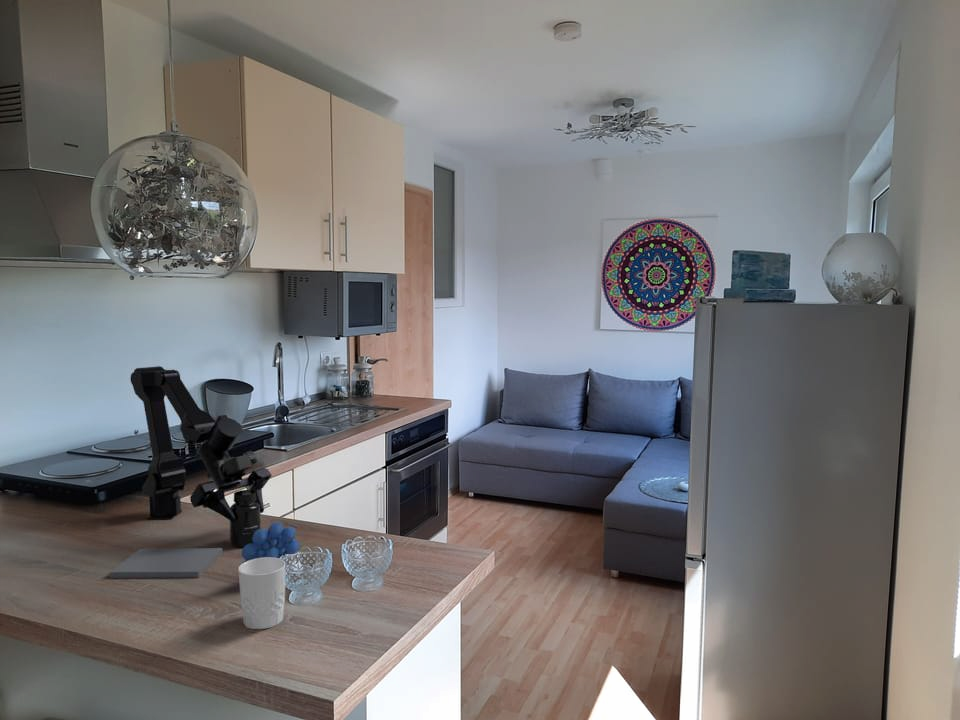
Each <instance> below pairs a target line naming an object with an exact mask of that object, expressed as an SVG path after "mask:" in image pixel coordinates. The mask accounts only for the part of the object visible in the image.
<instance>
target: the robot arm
mask: <svg viewBox="0 0 960 720" xmlns="http://www.w3.org/2000/svg"><path fill="white" fill-rule="evenodd" d="M130 383H131V385H132V388H133V391H134V392H133V393H134V394H135V395H136V396H137V397H138V398H139V399H140V400H141V401H142V402H143V403H142V404H143V408H144V414H145V418H146V419H145V420H146V424H147V430H148V436H149V441H150V442H149V443H150V448H151V453H152V458H151V461H150V463H149V465H148V468H147V472H148V473H147V474H148V477H147V478H146V480H145V481H144V482H143V485H142V487H141V489H142V494H143V495H144V496H146V497H149V500H148V501H149V515H148V516H147V517H146V519H147V520H171V519H174V518H175V517H176V516H178V515H179V514H180V513H182V512H183V509H182V506H181V505H182V504H181V496H179V492H180V491H184V489H185V484H186V477H187V472H186V469H185V468H186V467H185V462H184V459H183V457H178V456H177V455H176V453H174V448H173V447H174V446H173V441H172V437H171V430H170V425H169V419H168V414H167V407H166V402H165V397H166V398H167V400H168V401H169V403H170V405H171V406H172V408H173V410H174V412H175V413H176V414H177V416H178V417H179V419H180V428H179V430H180V432H181V434H182V437H183V439H184V441H185V442H186V443H187V445H191V446H194V445H199V444H201V445H200V447H198V448H197V449H196V452H195V458H194V459H195V460H196V461H197V460H202V462H203V464H204V466H205V468H206V469H207V471H208V473H207V474H206V476H207V478H208V479H212V481H211V480H210V481H206V482H202V483H198V485H197V486H196V487H195V489H194V490H193V491H192V493H191V495H190V503H191V505H192V507H193V508H199V507H201V506H202V507H203V508H204V509H206V508H208V509H210V510H211V511H212V512H213V511H214V512H215V513H217V514H219V515H220V516H222V517H224V518H225V519H227V520H229V522H230V521H232V522H234V521H235V516H234V514H233V512H232V510H231V508H230V507H231V505H230V504H229V503H228V501H227V499H226V497H225V493H227V492H230V491H235V490H239V489H241V488H242V489H243V488H245V490H253V491H255V492H256V500H255V502H257V503H258V504H259V505H260V511H261V514H262V513H264V511H265V508H264V507H265V506H264V500H263V499H264V498H263V488H264V487H265V485H266V484H267V483H268V482H269V480H270V479H271V477H272V473H271V472H270V470H269V469H268V468H264V467H263V468H259V469H255V470H252V471H251V473H250V474H249V475H248V477H245V478H243V477H244V476H245V475H246V474H247V472H246V471H247V470H249V469H252V468H254V466H253V465H256V464H257V462H258V460H257V457H256V455H255V453H254V451H253V450H250V451H246V452H245V453H242V455H240V456H235V457H234V456H230V455H229V452H228V451H229V450H231V449H232V448H233V446H234V445H235V444H236V442H237V440H238V438H240V436H241V434H242V432H243V426H242V424H240V423H241V422H238V421H237V420H235V419H233V418H230V417H228V415H227V414H222V415H218V416H217V417H216V420H215V419H214V418H213V416H212V415H211V414H210V413H208V412H207V411H205V410H202V409H201V408H200V407H199V406H198V404H197V402H196V401H195V399H194V398H193V397H192V395H191V393H190V391H189V390H188V389H187V387H186V385H185V383H184V382H183V380H182V379H181V374H180V372H179V371H178V370H177V369H165V368H164V367H163V366H160V365H157V366H147V367H145V366H144V367H137V368H135V369H134V370H133V372H132V373H131V374H130Z"/></svg>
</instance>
